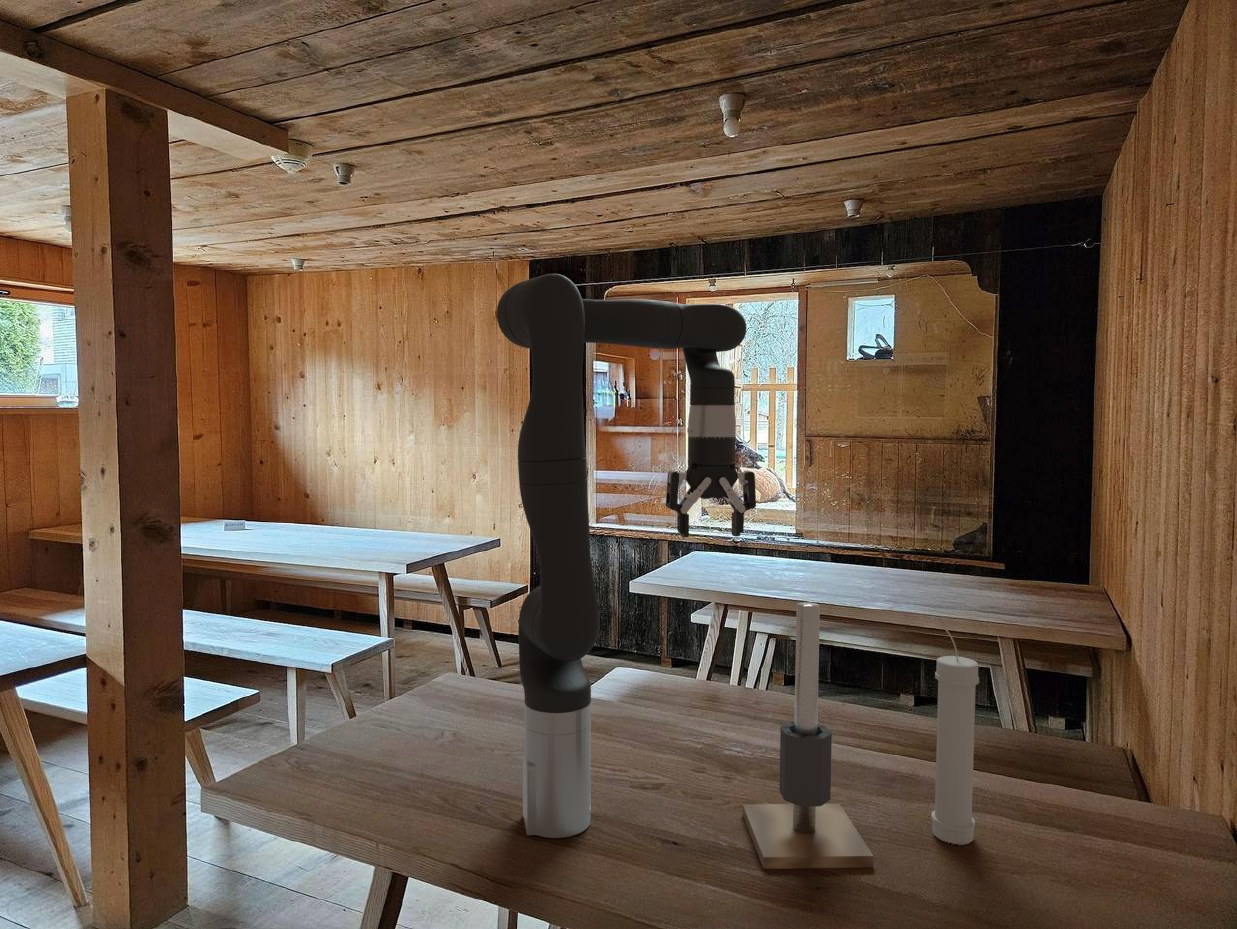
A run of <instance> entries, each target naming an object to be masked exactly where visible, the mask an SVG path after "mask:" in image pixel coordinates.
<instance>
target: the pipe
mask: <svg viewBox="0 0 1237 929" xmlns="http://www.w3.org/2000/svg"><path fill="white" fill-rule="evenodd" d="M930 619H931V620H933V621H934V622H935V623H936V624H938V625H939V626H941V628H942V629H943V630H945V632H946V633H947V635H948V636H949V637H950V640H951V642H952V644H953V646H954V651H955V655H944V656H940V657H938V658H937V659H936V671H935V672H934V675H935V676H934V679H935V680H937V681H938V682H937V684H938V685H937V717H936V718H937V719H936V750H935V752H936V754H935V755H936V757H935V760H936V761H935V763H936V764H935V786H934V787H935V791H934V792H935V793H934V794H935V795H934V799H935V800H934V810H933V811H931V819H930V820H931V822H932V826H931V827H932V828H931V830H932V831H931V832H932V834H933V835H934V837H935V836H936V837H937V838H936V837H935V838H936V839H938V838H939V839H940V840H939V839H938V840H939V841H941V840H942V841H941V842H943V841H945V842H944V843H946V842H948V843H947V844H949V843H953V844H952V845H954V844H958V845H957V846H966V845H970V844H971V843H972V842H973V841H974V832H975V831H974V829H975V828H976V820H975V818H973V788H974V787H973V786H974V782H973V781H974V753H975V749H974V748H975V719H976V718H975V714H976V711H975V710H976V687H977V685H979V684H980V678H979V664H978V662H977V661H975V660H974V659H971V658H967V657H964V656H959V655H958V649H957V646H956V645H957V644H956V642H955V640H954V638H953V636H952V634H951V633H950V631H949V630H948V629H947V628H946V627H945V626H944V625H943V624H942V623H941V622H939V620H937V619H936V618H934V617H930ZM970 842H971V843H970ZM969 843H970V844H969ZM965 844H966V845H965Z"/></svg>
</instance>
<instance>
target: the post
mask: <svg viewBox="0 0 1237 929" xmlns="http://www.w3.org/2000/svg"><path fill="white" fill-rule="evenodd" d="M820 611H821V605H820V604H818V603H815V602H797V603H796V616H795V619H796V621H795V622H796V623H795V624H796V626H795V627H796V628H795V671H794V672H795V673H794V674H795V677H794V680H795V682H794V683H795V684H794V685H795V686H794V688H795V689H794V721H795V725H794V733H795V734H798V735H802V736H817V726H818V724H819V723H818V722H819V721H818V720H819V718H818V716H819V713H818V712H819V667H820V666H819V664H820V663H819V662H820V660H819V659H820V622H821V621H820V620H821V619H820V617H821V616H820V615H821V613H820ZM742 816H743V819H744V822H745V825H746V828H747V830H748V832H749V835H750V837H751V840H752V843H753V846H754V848H755V851H756V853H757V856H758V858H759V861H760V863H761V866H762V869H765V870H769V869H771V870H773V869H777V870H779V869H781V870H782V869H784V870H785V869H790V870H792V869H846V868H847V869H853V868H857V869H859V868H865V869H866V868H874V854H873V853H872V851H871V850H870V848H869V847H868V845H867V844H866V842H865V840H864V839H863V838H862V836H861V835H860V833H859V831H858V830H857V828H856V826H854V823H853V822H852V820H851V819H850V818H849V816H848V814H847V813H846V811H845V810H844V808H843V807H842V805H841V804H840V803H825V804H824V805H822V806H815V807H801V806H798V805H795V804H793V803H755V804H753V803H752V804H751V803H749V804H745V803H744V804H742Z"/></svg>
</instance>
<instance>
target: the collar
mask: <svg viewBox="0 0 1237 929" xmlns="http://www.w3.org/2000/svg"><path fill="white" fill-rule="evenodd" d="M794 725H795V720H794V721H789V722H786V723H784V724H783V725H781V726H780V732H779V733H780V736H779V737H780V740H779V743H780V744H779V749H780V750H779V751H780V752H779V793H780V795H781V797H782V799H783V801H785V802H788V803H789V804H795V805H798V806H801V807H815V806H822V805H824V804H827V803H828V802H830V800H831V794H832V793H831V789H832V787H831V786H832V784H831V782H832V743H833V742H832V740H833V738H832V735H833V734H832V732H831V730H830V729H829V728H828V727H827V725H823V724H819V723H818V726H817V736H802V735H798V734H795V733H794Z"/></svg>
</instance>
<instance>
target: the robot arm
mask: <svg viewBox="0 0 1237 929" xmlns="http://www.w3.org/2000/svg"><path fill="white" fill-rule="evenodd" d="M581 295H582V294H581V292H580V291H579V288H578V287H577V286H576V284H575V283H574V282H573V281H572V280H571V279H570V278H568V277H566V276H565V275H562V274H559V273H547V274H543V275H539V276H537V277H536V276H535V277H532V278H529V279H526V280H522V281H521V282H518V283H515V284H514V285H512V286H511V287H510V288H508V289H507V290H505V292H504V293H503V294H502V296H500V298H499V301H498V303H497V308H496V320H497V324H498V327H499V329H500V331H501V332H502V334H503V335H504V337H505V338H506V339H507V340H508V341H510V343H512V344H514V345H516V346H518V347H521V348H523V349H530V352H531V354H530V355H531V367H532V369H531V370H532V385H531V393H530V398H529V401H528V406H527V408H526V412H525V413H524V414H525V415H524V418H523V421H522V425H521V428H520V432H519V439H518V444H517V460H518V461H517V465H518V466H517V470H518V483H519V484H518V485H519V492H520V493H519V494H520V497H521V502H522V503H521V504H522V508H523V511H524V514H525V518H526V520H527V524H528V527H529V530H530V533H531V536H532V539H533V542H534V544H535V548H536V552H537V553H536V554H537V557H538V564H539V570H540V571H539V575H540V585H539V586H537V587H535V588H534V589H532V590H531V591H530V592H529V593H528V594H527V595H526V597H525V598H524V601H523V602H522V604H521V607H520V610H519V616H518V658H519V659H518V660H519V661H518V662H519V675H520V676H519V677H520V680H521V683H522V687H523V692H524V750H523V751H522V817H523V822H524V827H525V828H524V829H525V833H526V836H539V837H542V838H547V839H549V838H550V839H561V838H562V839H563V838H569V837H574V836H576V835H578V834H581V833H583V832H584V831H585V830H586V829H588V827H589V826H590V824H591V812H592V811H591V810H592V809H591V808H592V805H591V804H592V803H591V794H592V792H591V784H592V783H591V782H592V780H591V775H592V774H591V773H592V771H591V770H592V769H591V768H592V763H591V762H592V760H591V759H592V758H591V757H592V755H591V754H592V753H591V752H592V745H591V744H592V736H591V735H592V733H591V732H592V714H591V713H592V685H591V681H590V679H589V677H588V675H587V673H586V671H585V668H584V666H583V662H582V658H584V657H585V656H586V655H588V654H589V652H591V651H592V649H593V647H594V646H595V644H596V641H597V639H598V636H599V633H600V626H601V625H600V624H601V621H600V620H601V619H600V609H599V608H600V607H599V602H598V596H597V591H596V584H595V583H596V582H595V578H594V571H593V564H592V556H591V537H590V516H589V500H588V499H589V496H588V494H589V492H588V487H589V485H588V484H589V483H588V469H587V468H588V467H587V463H588V462H587V452H586V451H587V450H586V440H585V423H584V422H585V420H584V419H585V418H584V416H585V414H584V395H583V372H584V371H583V367H584V366H583V365H584V364H583V363H584V348H585V347H584V345H585V343H587V344H589V343H591V344H593V343H594V344H605V345H607V344H608V345H618V346H619V345H620V346H628V347H636V348H637V347H638V348H647V349H648V348H649V349H650V348H651V349H660V350H661V349H662V350H677V349H678V350H679V349H682V353H683V355H684V356H683V357H684V360H685V364H686V368H687V372H688V376H689V381H690V384H689V386H690V387H689V405H690V406H689V412H688V419H687V428H686V429H687V430H686V431H687V469H686V471H685V472H678V471H674V470H670V471H669V472H668V473H667V478H666V479H667V480H666V492H665V493H666V494H665V495H666V496H665V507H666V508H667V509H670V510H672V511H675V512H676V514H677V516H676V517H677V518H676V521H677V522H676V523H677V524H676V525H677V527H676V530H677V533H678V534H680V536H681V538H683V539H684V538H689V536H690V514H689V513H688V512H689V511H690V509H691V508H692V507H693V506H694V504H696V503H697V502H698V500H699V499H703V500H706V499H707V500H708V499H719V500H720V499H722V500H723V498H724V500H725V501H726V502H727V503H728V504H729V506H730V507H731V508H732V509H733V512H731V536H733V537H736V538H737V537H741V533H743V532H744V528H745V525H744V520H745V519H744V518H745V512H746V511H748V510H753V509H756V507H757V498H756V497H757V494H756V475H755V472H754V471H751V470H743V471H737V470H736V454H737V453H736V447H737V446H736V445H737V443H736V439H737V438H736V437H737V417H736V410H735V409H736V408H735V405H736V404H735V400H736V399H735V398H736V397H735V392H736V389H735V388H736V381H735V379H736V378H735V375H734V372H733V371H732V370H731V369H729V368H727V367H721V366H720V362H719V360H718V354H717V353H723V352H729V351H732V350H734V349H735V348H737V347H738V346H740V345H741V344H742V342H743V341H744V340H745V338H746V334H747V323H746V320H745V318H744V316H743V314H742V313H741V312H740V311H739V310H738V309H736V308H735V307H733V306H731V305H727V304H720V303H719V304H718V303H717V304H715V303H714V304H713V303H712V304H711V303H703V304H702V303H700V304H699V303H698V304H697V303H696V304H687V303H686V304H684V303H677V302H673V301H672V302H671V301H664V300H655V299H645V298H633V299H631V298H629V299H628V298H627V299H626V298H622V299H588V298H587V299H586V298H582V296H581ZM684 481H686V483H687V484H688V486H689V488H688V489H687V491H686V492H685V493H684V495H683V498H682V499H681V501H680V502H679V503H678V499H679V487H681V486H682V484H683V482H684ZM737 481H739V484H741V485H742V498H743V501H741V499H740V498H739V495H738V494H737V492H736V491H735V490H734V489H733V486H734V485H735V484H736V482H737Z"/></svg>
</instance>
